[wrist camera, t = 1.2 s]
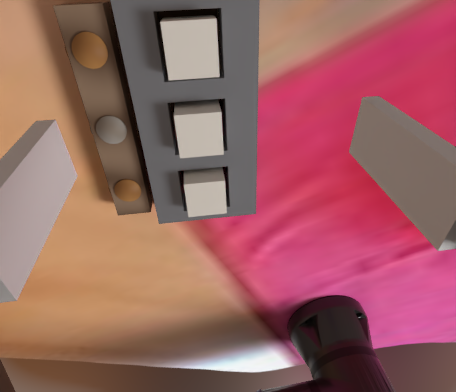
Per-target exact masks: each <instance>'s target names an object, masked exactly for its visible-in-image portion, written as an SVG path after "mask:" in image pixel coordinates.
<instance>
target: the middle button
mask: <svg viewBox="0 0 456 392" xmlns="http://www.w3.org/2000/svg"><path fill="white" fill-rule="evenodd" d="M174 121H175V128H176V135H177V141H178V148H179V155H180V158H191V157H202V156H214V155H224V150H223V131H222V112H221V108H220V105H219V102H218V99H212V100H198V101H185V102H175V108H174Z"/></svg>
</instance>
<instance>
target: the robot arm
mask: <svg viewBox="0 0 456 392" xmlns="http://www.w3.org/2000/svg"><path fill="white" fill-rule="evenodd" d="M349 153H350V154H351V155H352V156H353V157H354V158H355V159H356V160H357V161H358V163H359V164H360V165H361V166H362V167H363V168H364V169H365V170H366V171H367V173H368V174H369V175H370V176H371V177H372V178H373V179H374V180H375V181H376V183H377V184H378V185H379V186H380V187H381V188H382V189H383V190H384V191H385V193H386V194H387V195H388V196H389V197H390V198H391V199H392V200H393V201H394V203H395V204H396V205H397V206H398V207H399V208H400V209H401V210H402V212H403V213H404V214H405V215H406V216H407V217H408V218H409V219H410V220H411V222H412V223H413V224H414V225H415V226H416V227H417V228H418V229H419V230H420V232H421V233H422V234H423V235H424V236H425V237H426V238H427V239H428V240H429V242H430V243H431V244H432V245H433V246H434V247H435V248H436V249H437V250H438V251H441V250H449V249H456V147H455V146H453V145H452V144H450V143H449V142H447V141H446V140H444V139H443V138H441V137H440V136H438V135H437V134H435V133H434V132H432V131H431V130H429V129H428V128H426V127H425V126H423V125H422V124H420V123H419V122H417V121H415V120H414V119H412V118H411V117H409V116H408V115H406V114H405V113H403V112H402V111H400V110H399V109H397V108H396V107H394V106H393V105H391V104H390V103H388V102H387V101H385V100H384V99H382V98H381V97H379V96H374V97H362V101H361V105H360V109H359V113H358V118H357V122H356V126H355V130H354V134H353V138H352V142H351V146H350V150H349ZM76 178H77V173H76V171H75V168H74V166H73V163H72V161H71V158H70V155H69V153H68V150H67V148H66V145H65V143H64V140H63V138H62V135H61V132H60V130H59V127H58V125H57V122H56V120H44V121H36V122H35V123H34V124H33V125H32V126H31V127H30V128H29V129H28V130H27V131H26V132H25V133H24V135H23V136H22V137H21V138H20V139H19V140H18V141H17V142H16V143H15V144H14V145H13V146H12V148H11V149H10V150H9V151H8V152H7V153H6V154H5V155H4V156H3V157H2V158H1V159H0V303H2V302H10V301H17V299H18V297H19V295H20V293H21V291H22V289H23V287H24V285H25V283H26V281H27V279H28V277H29V275H30V273H31V270H32V268H33V266H34V264H35V262H36V260H37V258H38V256H39V254H40V252H41V250H42V248H43V246H44V244H45V242H46V240H47V238H48V236H49V233H50V231H51V229H52V227H53V225H54V223H55V221H56V219H57V217H58V215H59V213H60V211H61V209H62V207H63V205H64V203H65V201H66V199H67V196H68V194H69V192H70V190H71V188H72V186H73V184H74V182H75V180H76ZM288 332H289V336H290V339H291V341H292V343H293V345H294V346H295V348H296V349H297V351H298V352H299V354H300V355H301V357H302V358H303V359H304V361H305V362H306V364H307V365H308V367H309V368H310V371H311V374H312V377H313V380H311V381H306V382H302V383H297V384H292V385H287V386H281V387H276V388H271V389H266V390H258V391H256V392H396V391H395V389H394V388H393V386H392V384H391V382H390V380H389V378H388V376H387V374H386V372H385V370H384V369H383V367H382V365H381V363H380V361H379V359H378V357H377V356H376V353H375V352H374V349H373V347H372V341H371V336H370V330H369V325H368V319H367V316H366V314H365V312H364V310H363V308H362V306H361V305H360V303H359V302H358V301H356V300H354V299H352V298H349V297H344V296H332V297H326V298H321V299H318V300H315V301H313V302H310V303H308V304H306V305H305V306H303V307H302V308H300V309H299V310H298V311H296V312H295V313H294V314H293V316H292V317H291V318H290V320H289V322H288ZM0 392H15V390H14V388H13V385H12V383H11V381H10V379H9V377H8V375H7V373H6V371H5V368H4V366H3V364H2V362H1V360H0Z"/></svg>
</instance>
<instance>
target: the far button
mask: <svg viewBox="0 0 456 392" xmlns="http://www.w3.org/2000/svg"><path fill="white" fill-rule="evenodd" d="M184 190H185V197H186V204H187V211H188V217H196V216H206V215H215V214H225V213H227V207H226V188H225V178H224V173H223V168H222V167H215V168H204V169H193V170H184Z"/></svg>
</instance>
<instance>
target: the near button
mask: <svg viewBox="0 0 456 392" xmlns="http://www.w3.org/2000/svg"><path fill="white" fill-rule="evenodd" d="M160 24H161V31H162V38H163V45H164V51H165V58H166V65H167V72H168V79H169V80H183V79H198V78H212V77H220V74H219V55H218V36H217V19H216V18H215V17H214V16H213V15H202V16H183V17H165V18H163V19H162V20H161V21H160Z"/></svg>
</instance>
